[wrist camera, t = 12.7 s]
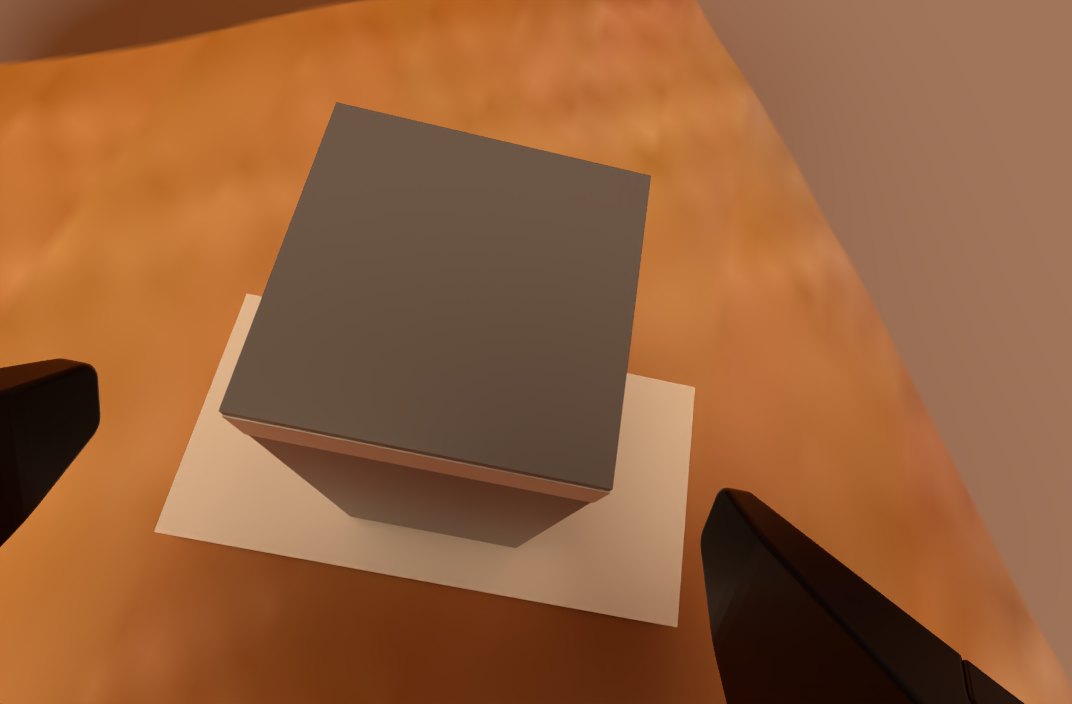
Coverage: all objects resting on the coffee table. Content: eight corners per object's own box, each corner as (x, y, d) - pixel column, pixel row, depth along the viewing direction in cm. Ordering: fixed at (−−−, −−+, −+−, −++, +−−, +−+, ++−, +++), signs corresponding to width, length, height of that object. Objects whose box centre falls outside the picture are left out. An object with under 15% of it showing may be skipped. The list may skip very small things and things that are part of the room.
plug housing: (516, 548, 19) (614, 491, 8) (349, 516, 19) (215, 411, 8) (544, 392, 21) (652, 175, 10) (392, 360, 21) (335, 101, 10)
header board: (661, 625, 21) (716, 633, 16) (174, 535, 20) (101, 520, 15) (680, 399, 24) (730, 358, 19) (259, 312, 23) (217, 248, 18)
